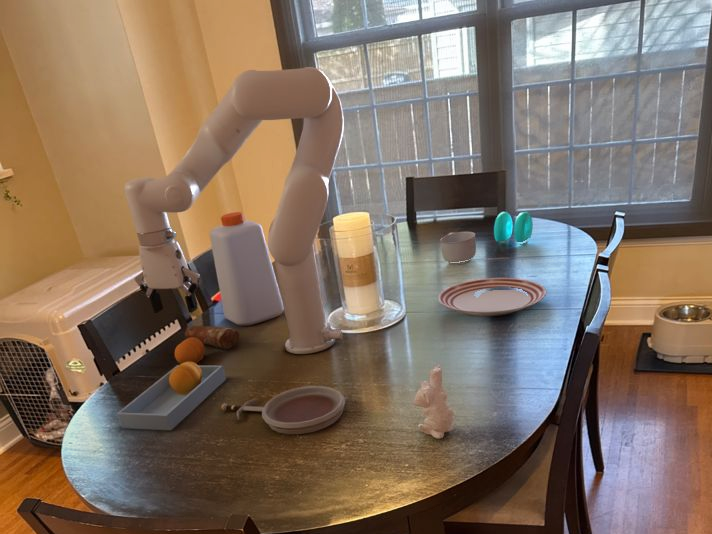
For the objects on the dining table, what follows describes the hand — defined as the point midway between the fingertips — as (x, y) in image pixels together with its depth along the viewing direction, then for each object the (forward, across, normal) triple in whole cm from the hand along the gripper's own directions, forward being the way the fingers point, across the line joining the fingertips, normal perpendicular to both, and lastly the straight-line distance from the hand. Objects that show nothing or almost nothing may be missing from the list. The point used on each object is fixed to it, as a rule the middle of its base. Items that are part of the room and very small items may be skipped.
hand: (176, 311), depth 160 cm
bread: (+14, +1, -12) cm, 18 cm away
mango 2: (+13, -8, +15) cm, 22 cm away
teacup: (+13, -53, -78) cm, 95 cm away
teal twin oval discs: (+12, -68, -94) cm, 117 cm away
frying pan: (+14, -36, +24) cm, 46 cm away
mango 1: (+14, 0, -1) cm, 14 cm away
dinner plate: (+13, -69, -37) cm, 80 cm away
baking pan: (+14, -8, +21) cm, 26 cm away
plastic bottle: (+14, -2, -33) cm, 36 cm away
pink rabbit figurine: (+13, -70, +30) cm, 77 cm away
